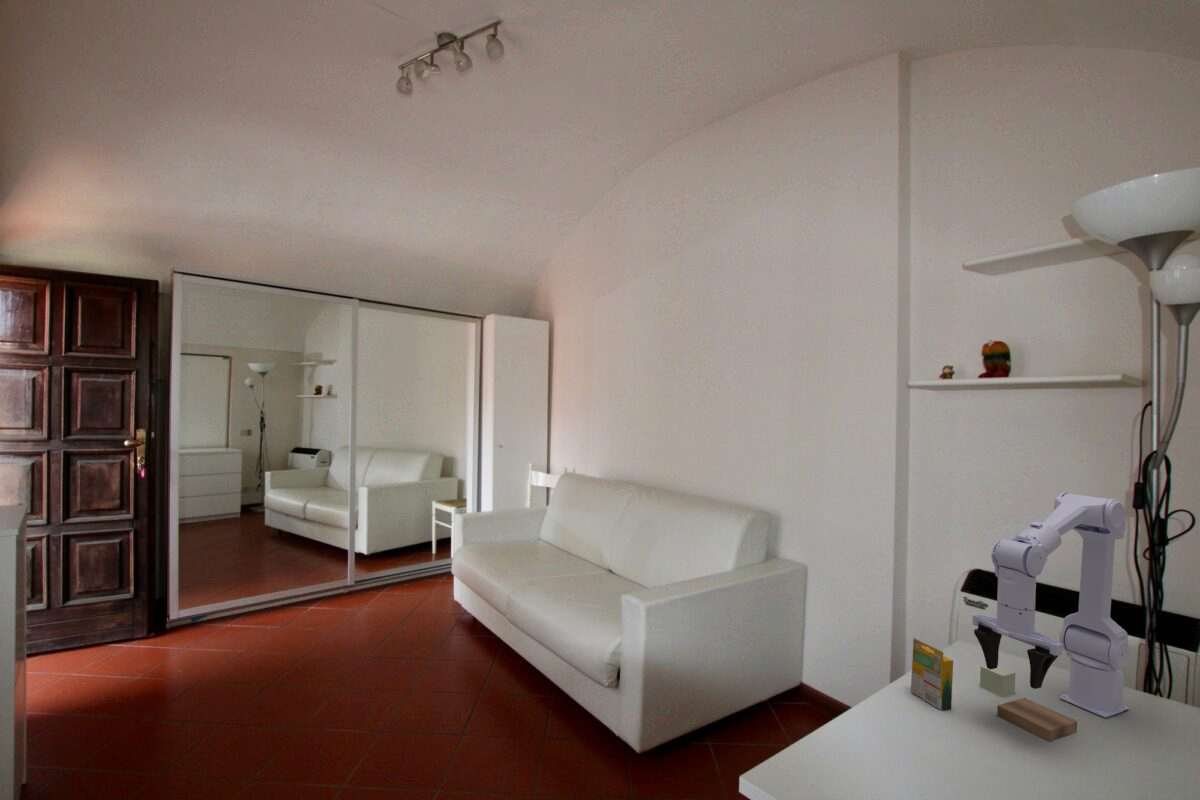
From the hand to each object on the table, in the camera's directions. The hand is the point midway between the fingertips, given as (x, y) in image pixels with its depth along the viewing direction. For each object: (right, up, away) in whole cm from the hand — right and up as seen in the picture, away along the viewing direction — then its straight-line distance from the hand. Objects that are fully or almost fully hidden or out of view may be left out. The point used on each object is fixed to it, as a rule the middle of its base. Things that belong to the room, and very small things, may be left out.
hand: (1013, 677), depth 103 cm
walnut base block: (+6, -11, +3) cm, 13 cm away
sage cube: (+8, -11, +16) cm, 21 cm away
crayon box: (-10, -10, +10) cm, 17 cm away
